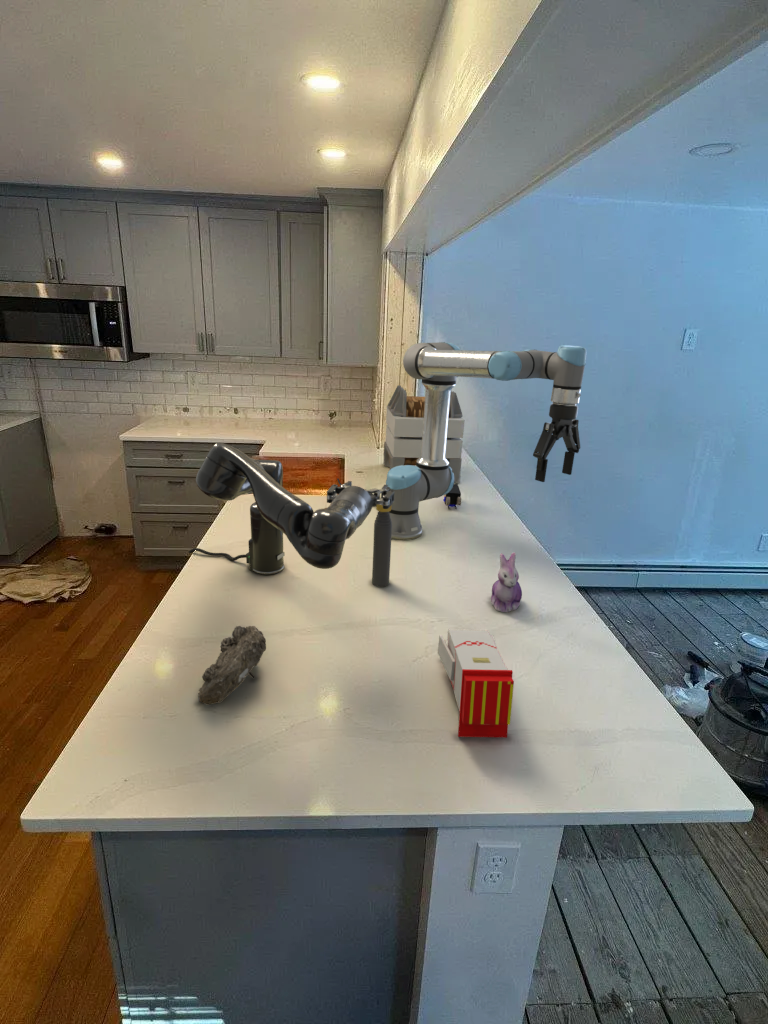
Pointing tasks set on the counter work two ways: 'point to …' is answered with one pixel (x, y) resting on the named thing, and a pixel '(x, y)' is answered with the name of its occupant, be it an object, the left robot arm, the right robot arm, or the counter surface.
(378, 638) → the counter surface
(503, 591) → the figurine
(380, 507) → the cap
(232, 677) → the fossil
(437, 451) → the right robot arm
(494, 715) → the toy
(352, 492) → the left robot arm
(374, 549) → the bottle
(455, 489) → the figurine character
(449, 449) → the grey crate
